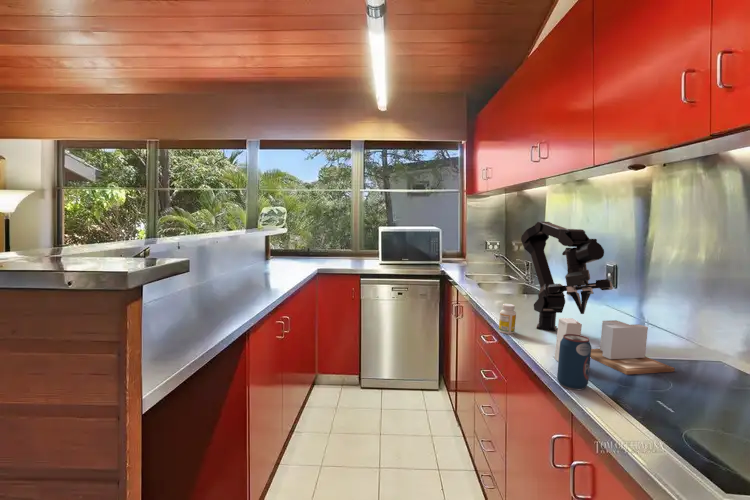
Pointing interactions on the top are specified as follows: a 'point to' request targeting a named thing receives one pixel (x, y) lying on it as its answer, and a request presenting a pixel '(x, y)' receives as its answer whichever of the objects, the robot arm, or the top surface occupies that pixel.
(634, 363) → the brown board
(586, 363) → the soda can
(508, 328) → the supplement bottle
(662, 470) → the top surface
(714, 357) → the top surface
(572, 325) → the skincare box
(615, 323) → the white block
